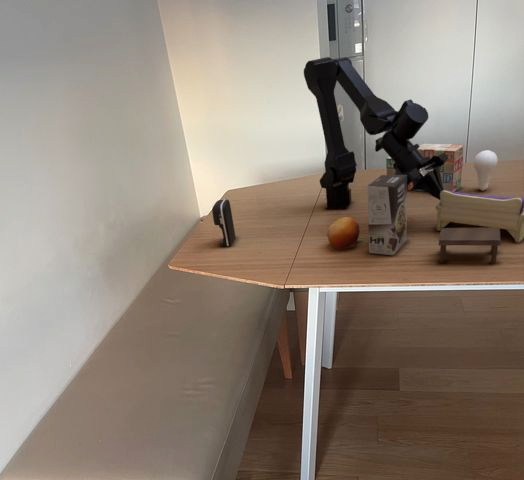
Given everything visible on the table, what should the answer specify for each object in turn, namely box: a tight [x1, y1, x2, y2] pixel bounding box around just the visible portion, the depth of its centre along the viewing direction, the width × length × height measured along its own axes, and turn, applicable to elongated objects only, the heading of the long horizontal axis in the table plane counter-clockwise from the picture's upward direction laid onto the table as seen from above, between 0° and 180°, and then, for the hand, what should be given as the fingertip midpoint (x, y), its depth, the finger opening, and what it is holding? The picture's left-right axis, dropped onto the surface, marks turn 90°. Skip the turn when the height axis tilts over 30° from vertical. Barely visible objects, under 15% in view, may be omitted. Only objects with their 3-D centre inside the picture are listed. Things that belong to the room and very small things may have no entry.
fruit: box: [326, 216, 360, 250], centre depth 127 cm, size 8×8×8 cm
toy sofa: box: [435, 190, 524, 243], centre depth 122 cm, size 21×9×10 cm, turn 49°
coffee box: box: [367, 174, 408, 256], centre depth 120 cm, size 9×6×16 cm
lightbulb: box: [473, 149, 499, 191], centre depth 145 cm, size 6×6×11 cm
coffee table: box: [438, 227, 501, 265], centre depth 112 cm, size 12×7×6 cm, turn 71°
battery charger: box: [211, 198, 237, 247], centre depth 139 cm, size 7×4×11 cm, turn 171°
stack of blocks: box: [385, 143, 465, 192], centre depth 154 cm, size 21×6×12 cm, turn 49°
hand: (443, 199), depth 125 cm, fingers closed, pressing on toy sofa
